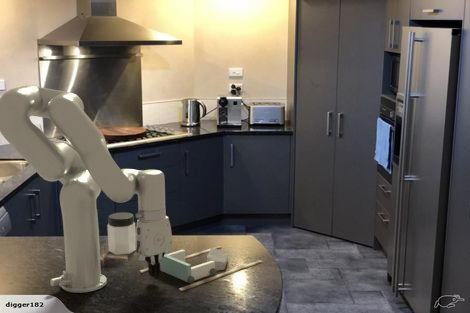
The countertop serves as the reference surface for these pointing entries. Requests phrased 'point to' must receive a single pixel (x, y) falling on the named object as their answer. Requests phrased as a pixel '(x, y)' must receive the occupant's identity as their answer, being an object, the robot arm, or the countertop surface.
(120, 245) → the jar
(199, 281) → the track
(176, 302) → the countertop surface
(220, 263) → the grey rock
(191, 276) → the green frame
